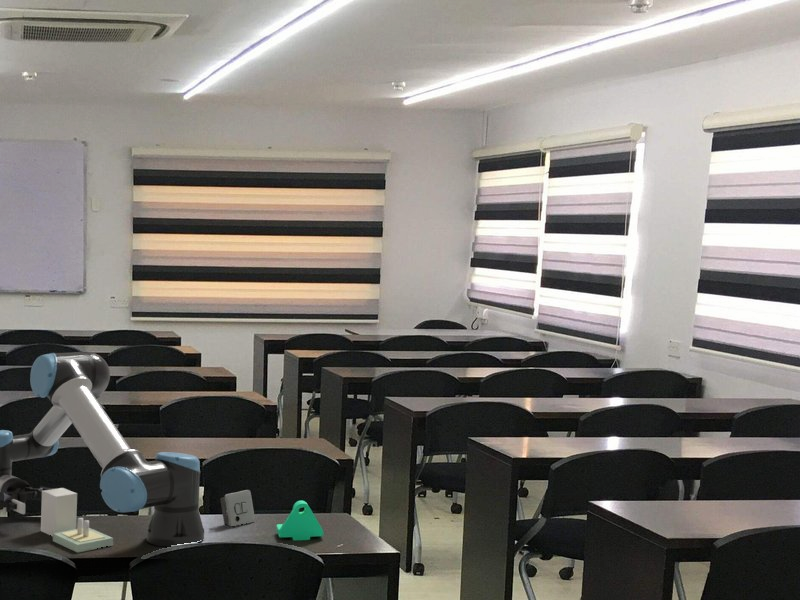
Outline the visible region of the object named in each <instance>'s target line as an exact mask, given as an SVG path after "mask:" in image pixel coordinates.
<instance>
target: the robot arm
mask: <svg viewBox="0 0 800 600" xmlns="http://www.w3.org/2000/svg"><path fill="white" fill-rule="evenodd" d="M29 376H30V378H29V379H30V387H31V391H32V392H33V394H34V395H35V396H36V397H37V398H42V399H44V398H48V399H49V401H50V403H51V404H52V405H53V406H52V407H51V408H50V409H49V410H48V411H47V413H46V414H45V415H44V416H43V418H42V419H41V420H40V421H39V422H38V423H37V425H36V426H35V427H34V428H33V429H32V431H31V432H30V433H26V434H25V433H24V434H19V435H13V432H12V431H10V430H8V429H7V430H5V429H1V430H0V511H2V510H4V508H5V512H6V513H10V512H11V511H12V510H13V512H17V513H19V514H21V515H25V514H26V502H27V503H28V502H40V501H42V491H44V490H51V489H55V488H52V487H45V486H44V485H42V486H39V487H38V488H36V487H35V488H34V487H32V486H30V484H29V482H27V481H26V480H24V479H21V478H20V477H16V476H14V475H12V468H13V467H12V466H13V462H18V461H24V460H30V459H31V460H32V459H37V458H41V459H42V458H47V457H49V456H53V455H54V454H56V453H57V452H58V448H59V446H60V443H59V442H60V441H59V439H60V438H61V437H62V436H63V434H64V433H65V432H66V431H67V430H68V428H69V427H70V426H71V425H73V426H74V428H75V429H76V431H77V433H79V435H80V437H81V438H82V440H83V441H84V443H85V444H86V446H87V447H88V449H89V450H90V452H91V453H92V455H93V457H94V458H95V459H96V461H97V463H98V465H100V467H101V468H102V470H101V473H100V481H99V489H100V490H102V491H101V492H100V494H101V497H102V499H103V501H104V503H105V504H106V506H108V507H109V508H110V509H111V510H112V511H115V512H117V513H131V512H138V511H140V510H144V509H148V508H149V509H150V508H152V507H154V508H153V509H154V510H153V513H152V515H151V519H150V523H149V525H148V527H147V530H146V541H147V542H148V543H149V544H152V545H154V546H158V547H159V546H160V547H165V546H171V545H177V544H184V543H191V542H197V541H200V540H203V539H204V540H205V528H204V526H203V522H202V517H201V515H200V514H201V513H200V511H199V510H200V509H199V508H200V506H199V505H200V504H199V502H200V484H201V483H200V482H201V481H200V480H201V469H200V467H201V465H200V464H201V463H200V459H199V458H198V457H197V456H196V455H192V454H188V453H182V452H172V451H171V452H170V451H161V452H158V453H156V455H155V457H154V459H155V460H152V461H151V460H149V461H147V460H146V458H145V457H144V455H143V454H142V452H141V451H139V450H138V449H131V447H130V446H129V444H128V443H127V441H126V439H124V437H123V435H122V434H121V433H120V431H119V429H118V428H117V427H116V425H115V424H114V422H113V421H112V419H111V418H110V417H109V415H108V414H107V412H106V411H105V410H104V408H103V407H102V405H101V404H100V403H99V401H98V399H99V398H100V397H101V396H102V394H103V393H104V392H105V391H106V389H107V388H108V385H109V384H110V379H111V371H110V367H109V364H108V363H107V361H106V360H105V359H104V358H103V357H102V356H101V355H100V354H97V353H95V352H92V351H77V352H75V351H72V352H51V353H46V354H42V355H41V354H40V356H38V357H36V359H35V360H34V362H33V363H32V366H31V370H30V375H29ZM204 540H203V541H204Z"/></svg>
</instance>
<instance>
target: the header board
mask: <svg viewBox="0 0 800 600" xmlns="http://www.w3.org/2000/svg"><path fill="white" fill-rule="evenodd" d="M52 542H54V543H56V544H58V545H59V546H63V547H65V548H67V549H69V550H70V551H73V552H75V553H83V552H88V551H92V550H97V548H98V549H102V548H101V547H103V548H107V547H106V546H108V547H111V546H114V537H111V536H109V535H107V534H105V533H102V532H101V531H98V530H96V529H94V528H91V527H90V520H88V519H87V520H86V519H85V520H84V517H77V525H76V529H75V530H69V531H64V532H58V533H53V536H52Z"/></svg>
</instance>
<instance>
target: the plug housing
mask: <svg viewBox="0 0 800 600" xmlns="http://www.w3.org/2000/svg"><path fill="white" fill-rule="evenodd" d="M40 504H41V510H40V511H41V512H40V513H41V514H40V516H41V517H40V532H42V533H44V534H47V535H48V536H50V535H51V537H53V533H58V532H64V531H69V530H75V529H77V518H78V517H77V511H78V510H77V509H78V507H77V505H78V493H77V492H74V491H71V490H70V489H67V488H65V487H59V488H54V489H51V490H44V491H42V500H41V503H40Z"/></svg>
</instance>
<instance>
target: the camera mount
mask: <svg viewBox="0 0 800 600" xmlns="http://www.w3.org/2000/svg"><path fill="white" fill-rule="evenodd" d="M302 508H304V509H303V511H300V509H302ZM275 531H276V533H277V535H278V538H290V539H291V540H292V541H310V540H311V538H312V537H324V530H323V528H322V526H321V524H320V522H319V520H318V519H317V517H316V516H315V514H314V513H313V510H312V508H310V506H309V505H308V503H307V502H306V501H305V500H298V501H296V502H295V503H294V504H293V506H292V510H291V511H290V513H289V515H288V516H287V518H286V519H285V520H284V522H283V523H278V524H276V530H275Z"/></svg>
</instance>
